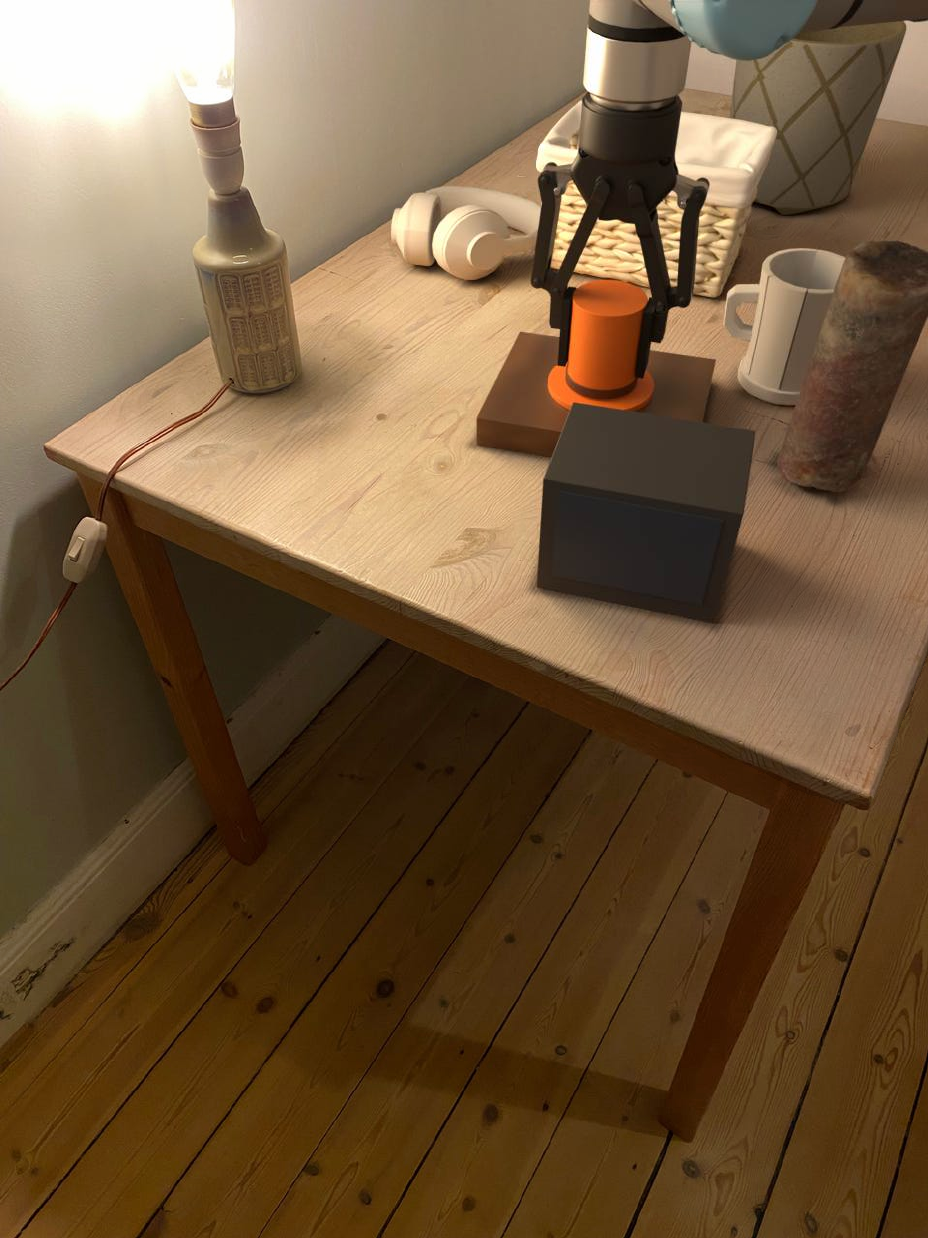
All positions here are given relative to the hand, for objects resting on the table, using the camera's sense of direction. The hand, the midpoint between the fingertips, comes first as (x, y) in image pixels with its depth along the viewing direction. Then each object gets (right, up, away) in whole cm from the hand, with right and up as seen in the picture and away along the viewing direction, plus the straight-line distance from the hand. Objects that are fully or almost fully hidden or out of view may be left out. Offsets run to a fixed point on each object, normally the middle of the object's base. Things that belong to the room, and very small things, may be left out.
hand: (602, 364), depth 85 cm
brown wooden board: (0, -4, +4) cm, 5 cm away
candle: (+19, -11, -3) cm, 22 cm away
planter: (+31, +35, +39) cm, 61 cm away
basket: (+9, +20, +26) cm, 33 cm away
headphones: (-12, +22, +28) cm, 38 cm away
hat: (0, -2, +2) cm, 2 cm away
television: (+1, -19, -10) cm, 22 cm away
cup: (+18, 0, +7) cm, 20 cm away
